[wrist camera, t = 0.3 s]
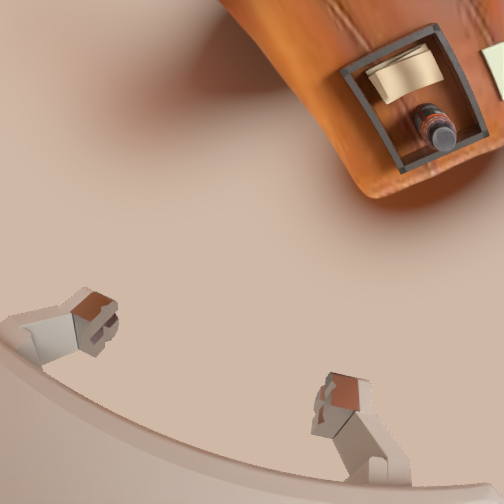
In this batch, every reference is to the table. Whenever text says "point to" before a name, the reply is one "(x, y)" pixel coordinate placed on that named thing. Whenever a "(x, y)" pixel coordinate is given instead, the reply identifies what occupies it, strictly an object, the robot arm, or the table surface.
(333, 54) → the table surface
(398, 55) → the offcut stack
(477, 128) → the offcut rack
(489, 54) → the mat
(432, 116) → the supplement bottle
